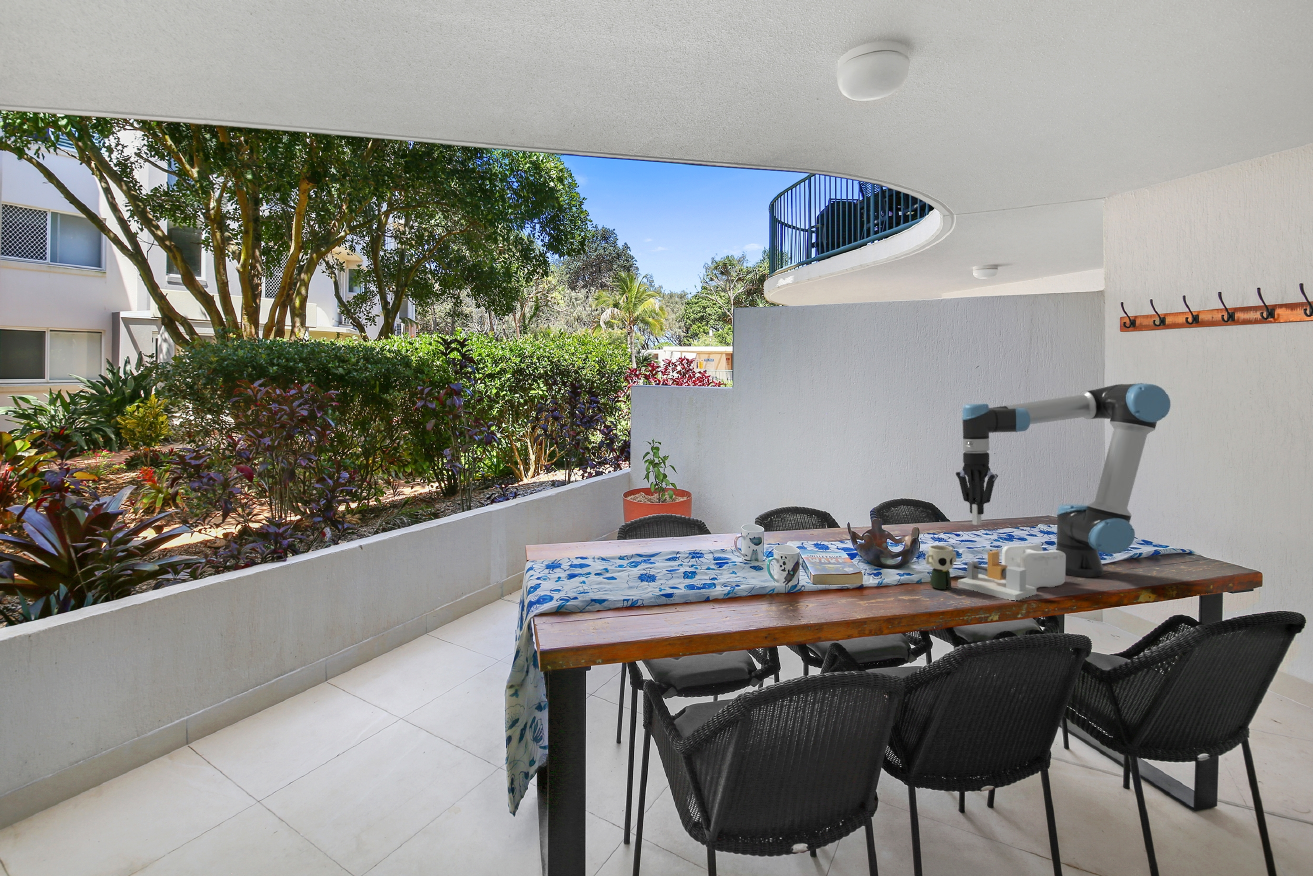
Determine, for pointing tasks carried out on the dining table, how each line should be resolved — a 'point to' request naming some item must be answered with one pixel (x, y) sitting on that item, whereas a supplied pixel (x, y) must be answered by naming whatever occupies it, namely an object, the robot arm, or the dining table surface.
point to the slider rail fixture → (998, 582)
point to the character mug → (940, 565)
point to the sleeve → (995, 566)
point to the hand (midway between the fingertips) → (976, 523)
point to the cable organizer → (1037, 564)
